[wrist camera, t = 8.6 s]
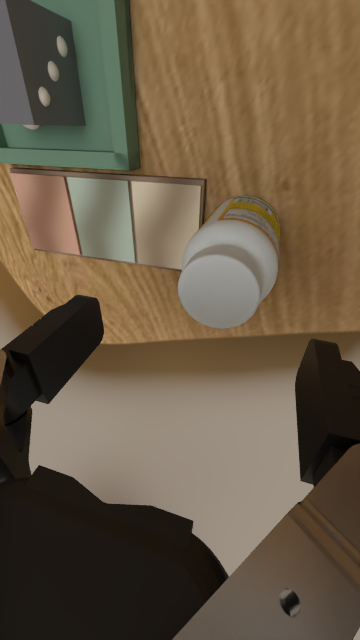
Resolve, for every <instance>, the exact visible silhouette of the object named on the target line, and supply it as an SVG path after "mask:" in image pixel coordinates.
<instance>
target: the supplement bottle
mask: <svg viewBox="0 0 360 640" xmlns="http://www.w3.org/2000/svg"><path fill="white" fill-rule="evenodd" d="M279 245H280V223H279V220H278V217H277V215H276V213H275V212H274V210H273V209H272V208H271V207H270V206H269V205H268V204H267V203H266V202H264V201H262V200H260V199H258V198H255V197H251V196H239V197H234V198H231V199H229V200H227V201H225V202H224V203H222V204H221V205H220V206H219V207H218V208H217V209H216V210H215V211H214V212H213V213H212V214H211V216H210V217H209V218H208V219H207V220H206V222H205V223H204V224H203V225H202V226H201V227H200V228H199V230H198V231H197V232H196V233H195V234H194V235H193V236H192V238H191V239H190V241H189V242H188V244H187V246H186V248H185V250H184V253H183V257H182V273H181V275H180V278H179V282H178V295H179V299H180V301H181V304H182V306H183V307H184V309H185V310H186V311H187V313H188V314H189V315H190V316H191V317H192V318H194V319H195V320H196V321H198V322H199V323H201V324H204V325H206V326H209V327H213V328H221V329H225V328H232V327H235V326H238V325H241V324H242V323H244V322H246V321H247V320H248V319H249V318H250V317H251V316H252V315H253V314H254V313H255V311H256V309H257V307H258V305H259V303H260V302H261V301H262V300H263V299H264V298H265V297H266V296H267V295H268V294H269V293H270V291H271V290H272V288H273V286H274V284H275V281H276V278H277V273H278V264H279Z"/></svg>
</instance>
